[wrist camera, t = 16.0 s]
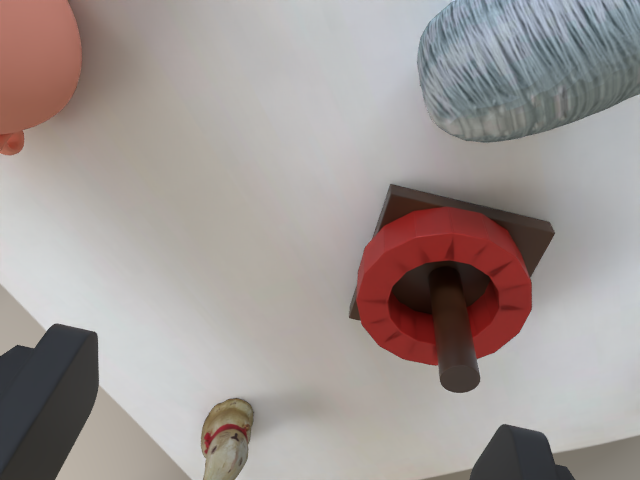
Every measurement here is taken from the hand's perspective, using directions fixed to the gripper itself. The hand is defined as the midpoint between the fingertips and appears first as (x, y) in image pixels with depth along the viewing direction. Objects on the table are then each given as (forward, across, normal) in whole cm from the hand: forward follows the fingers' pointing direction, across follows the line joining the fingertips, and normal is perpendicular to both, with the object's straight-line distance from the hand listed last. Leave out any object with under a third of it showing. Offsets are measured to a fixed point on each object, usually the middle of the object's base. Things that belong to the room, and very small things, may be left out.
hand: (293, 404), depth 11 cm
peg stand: (+28, -11, +15) cm, 34 cm away
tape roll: (+27, -10, +15) cm, 32 cm away
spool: (+28, -10, -3) cm, 30 cm away
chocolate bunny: (+28, +3, +39) cm, 48 cm away
